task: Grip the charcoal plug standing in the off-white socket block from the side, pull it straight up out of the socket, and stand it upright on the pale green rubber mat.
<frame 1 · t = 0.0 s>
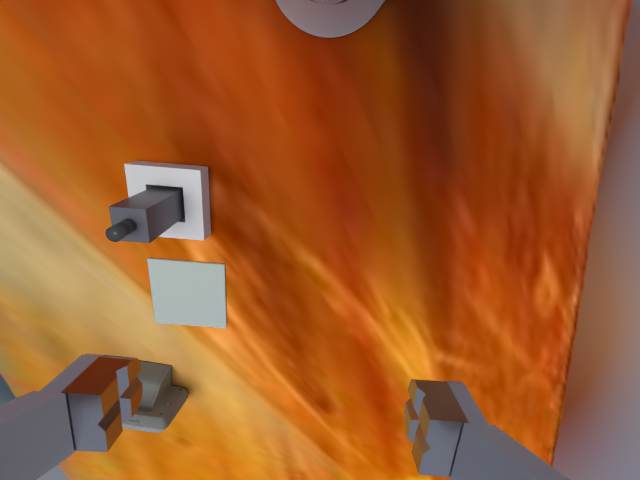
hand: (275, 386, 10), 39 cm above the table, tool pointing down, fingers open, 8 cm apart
socket block: (175, 198, 48), on the table
digital clock: (148, 377, 61), on the table
plug: (149, 213, 41), in the socket block
mat: (189, 293, 54), on the table
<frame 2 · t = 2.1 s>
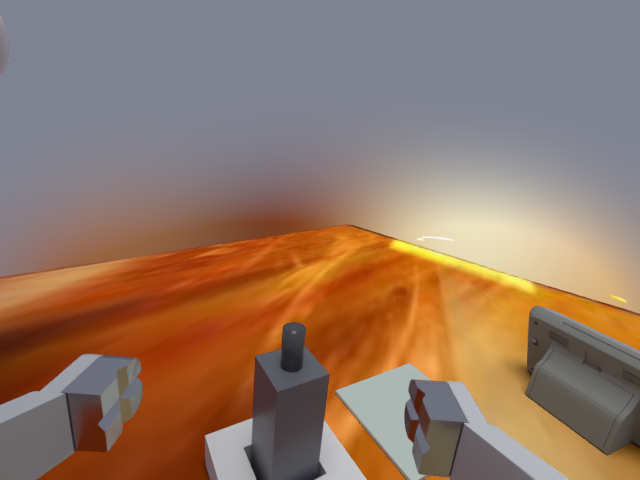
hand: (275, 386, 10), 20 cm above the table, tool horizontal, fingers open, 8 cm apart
digital clock: (582, 414, 39), on the table
plug: (287, 415, 25), in the socket block
mat: (410, 412, 36), on the table
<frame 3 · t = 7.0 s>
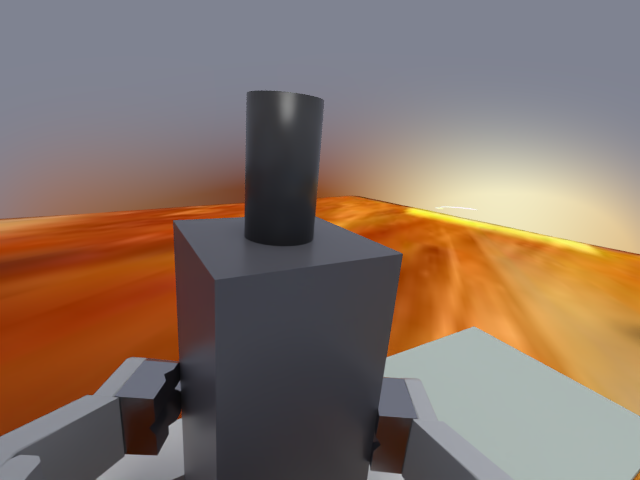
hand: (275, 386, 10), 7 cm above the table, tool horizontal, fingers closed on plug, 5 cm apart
plug: (271, 395, 9), in the socket block, touching gripper
mat: (501, 401, 20), on the table
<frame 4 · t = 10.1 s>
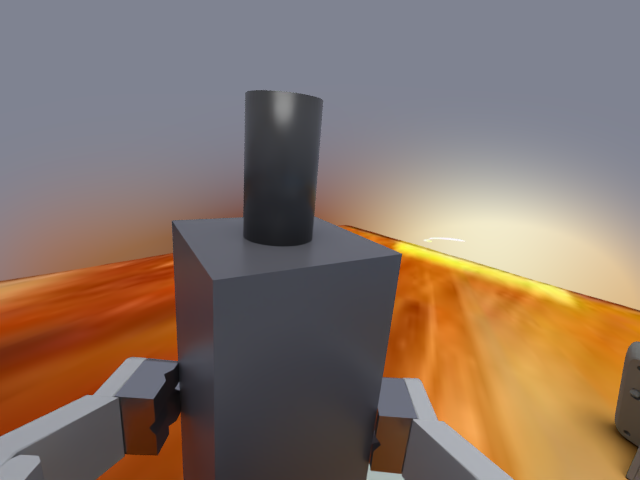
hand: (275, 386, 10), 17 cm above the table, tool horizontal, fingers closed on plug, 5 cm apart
plug: (270, 395, 9), point 18 cm above the table, touching gripper
when the fingers open (9 cm above the table, at t = 13.3 s): plug drops 2 cm, resting on mat.
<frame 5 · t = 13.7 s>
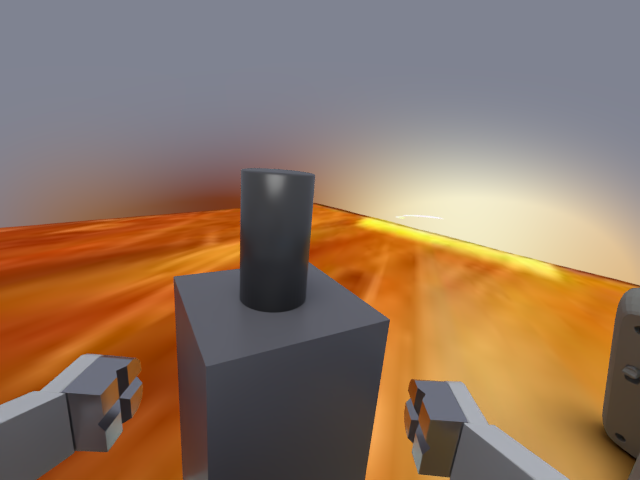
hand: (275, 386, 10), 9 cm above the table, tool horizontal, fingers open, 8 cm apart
plug: (266, 441, 9), on the mat
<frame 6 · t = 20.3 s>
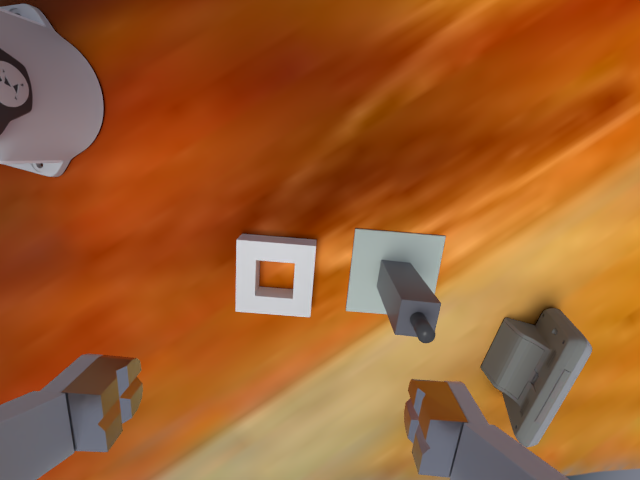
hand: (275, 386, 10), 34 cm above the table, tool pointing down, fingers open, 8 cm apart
socket block: (277, 271, 45), on the table
digital clock: (516, 348, 49), on the table
plug: (406, 299, 38), on the mat
mat: (393, 273, 45), on the table
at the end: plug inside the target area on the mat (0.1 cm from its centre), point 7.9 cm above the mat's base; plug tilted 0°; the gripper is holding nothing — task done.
